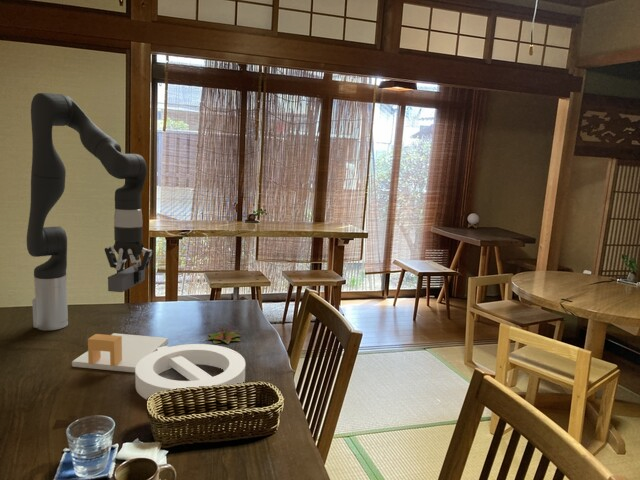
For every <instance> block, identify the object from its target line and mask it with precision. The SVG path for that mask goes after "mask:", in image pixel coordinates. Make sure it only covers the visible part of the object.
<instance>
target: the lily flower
mask: <svg viewBox="0 0 640 480" xmlns="http://www.w3.org/2000/svg"><path fill="white" fill-rule="evenodd" d="M217 328H218V329H219V330H218V332H217V333H211V334H210V333H209V334H207V335H208V336H210V337H208V338H207V339H206V341H209V340H212V343H213V344H212V345H216V344H219V343H225V344H227V345H229V344H230V342H241V340H240V338H238V337H241V334H240V335H239V334H237V333H235V331H232V328H231V329H229V328H230V326H228V325H226V327H225V328H224V325H223V328H222V327H221V326H220V325H218V327H217ZM228 329H229V331H228ZM222 338H223V339H222ZM219 340H220V341H219Z"/></svg>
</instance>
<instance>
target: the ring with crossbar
mask: <svg viewBox="0 0 640 480" xmlns="http://www.w3.org/2000/svg"><path fill="white" fill-rule="evenodd" d="M197 365H203V366H204V365H205V366H211V367H215V368H218V369H220V368H221V370H222V369H223V370H222V371H223V372H220V373H219V374H217V375H214V376H212V375H210V374H209V373H208V372H206V371H205V370H203V369H202V368H200V367H199V366H197ZM170 369H174V370H175V371H176V372H178V373H179V374H180V375H182V376H183V377H184V378H186V379H187V380H175V379H169V378H166V377H164V376H161V375H160V374H162V373H163V372H164V371H167V370H170ZM134 376H135V378H134V379H135V383H134V384H135V390H136V392H137V394H138V395H139V396H141V397H142V398H143V399H145V400H147V398H148V397H149V396H151V395H152V394H154V393H156V392H159V391H164V390H169V389H176V388H186V387H199V386H212V385H227V384H237V383H243V382H244V383H245V382H246V359H245V357H243V356H242V354H241V353H239V351H236V350H233V349H231V348H229V347H226V346H221V345H216V344H207V343H192V344H191V343H188V344H178V345H173V346H168V345H165V346H163V347H159V348H156V351H155V352H152V353H150V354H148V355H147V356H145V357H144V358H142V359H141V360H140V361H139V362H138V363H137V365H136V368H135V372H134Z"/></svg>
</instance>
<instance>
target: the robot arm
mask: <svg viewBox="0 0 640 480" xmlns="http://www.w3.org/2000/svg"><path fill="white" fill-rule="evenodd" d="M30 120H31V123H30V124H31V137H32V155H31V156H32V157H31V169H30V171H31V174H30V208H29V217H28V223H27V231H26V248H27V251H28V254H29V256H31V257H33V258H34V257H48V256H50V258H49V259H48V260H46V261H45V262H44V263H41V264H39V265H37V266H36V267H34V269H33V276H34V277H33V279H34V280H33V281H34V298H33V299H31V302H32V322H33V323H32V325H33V328H35V329H37V330H40V331H57V330H60V329H63V328H66V327H67V326H68V324H69V314H68V313H69V312H68V287H67V267H68V237H67V232H66V231H65V229H64V228H63V227H62V226H45V222H46V218H47V217H48V215H49V213H50V212H51V210H52V209H53V208H54V206H55V205H56V204H57V203H58V201H59V200H60V199H61V197H62V196H63V194H64V192H65V188H66V176H67V175H66V167H65V164H64V162H63V160H62V159H61V157H60V154H59V153H58V152H57V150H56V148H55V146H54V143H53V142H54V141H53V127H64V126H67V127H69V128H71V129H73V130H74V131H75V132H77V133H78V135H79V140H80V142H81V145H82V146H83V147H84V148H85V150H86V151H88V152H89V154H91V155H93V156H94V158H97V160H99V162H100V163H101V166H103V167H104V169H105V170H106V172H107V173H108V174H109V175H110V176H111V177H113V178H115V179H118V180H125V181H124V184H123V185H122V186H121V187H118V188H116V189H115V192H114V215H113V222H114V223H113V228H114V229H113V230H114V231H113V233H114V234H113V235H114V244H113V245H112V246H108V247H105V248H104V253H105V256H106V258H107V262H108V264H109V267H110V268H113V269H115V270H116V273H118V272H120V271H123V270H125V263H126V261H127V260H129V261H130V263H131V264H132V266H133V267H134V284H137V285H138V284H140V283H141V282H140V281H141V270H144V269H145V270H146V269H147V268H148V267H149V265H150V261H151V259H152V256H153V253H154V251H153V250H152V249H148V248H145V246H144V245H143V235H144V234H143V223H144V221H143V213H142V192H143V190H144V187H145V186H144V185H145V182H146V178H147V175H148V174H147V173H148V166H147V163H146V160H145V158H144V157H143V156H142V155H141V154H138V153H122V148H121V145H120V144H119V143H118V142H117V141H116V140H115V139H114V138H112V136H110V135H108V134H107V133H105V132H104V131H103V130H102V129H101V128H100V127H98V126H97V125H96V124H95V123H94V121H92V119H91V118H90V117H89V116H88V115H87V114H86V113H85V111H84V110H83V109H82V108H81V107H80V106H79V105H78V104H77V102H75V101H74V100H73V99H72V98H71V97H70V96H69V95H65V94H62V93H61V94H59V93H50V92H49V93H48V92H38V93H36V94H35V95H34V96H33V97H32V100H31V103H30ZM115 253H116V254H117V257H116V254H115ZM141 254H142V256H143V257H142V259H141V257H140V256H141ZM139 282H140V283H139Z"/></svg>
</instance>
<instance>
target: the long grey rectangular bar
mask: <svg viewBox="0 0 640 480" xmlns="http://www.w3.org/2000/svg"><path fill="white" fill-rule="evenodd" d="M145 280H146V269H144V270H141V281H140V282H139V283H138V284H140V283H142V282H144V281H145ZM138 284H134V267H133V265H132V266H129V267H128V268H124V270H123V271H120V272H118V273H117V272H116V273H114V274H111V275H110V276H108V277H107V292H111V293H112V292H114V293H123V292H125V291H127V290H129V289H131V288H133V287H135V286H137V285H138Z"/></svg>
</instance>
